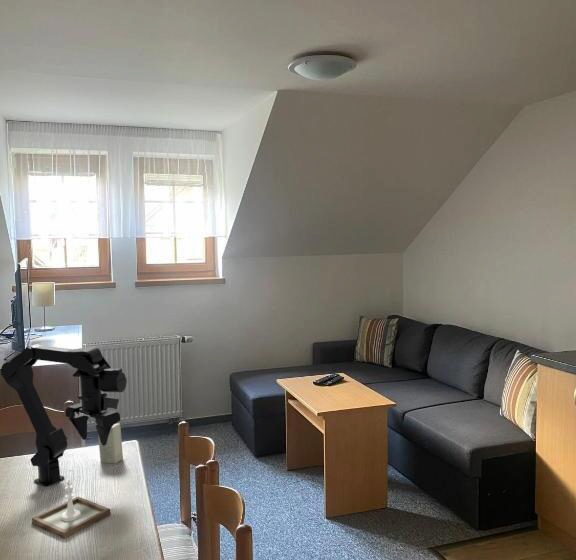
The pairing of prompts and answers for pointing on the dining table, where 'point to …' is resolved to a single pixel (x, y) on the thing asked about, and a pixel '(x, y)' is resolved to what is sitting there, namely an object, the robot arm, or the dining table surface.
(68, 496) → the chess piece
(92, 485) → the dining table surface
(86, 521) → the walnut tray
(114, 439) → the skincare box
